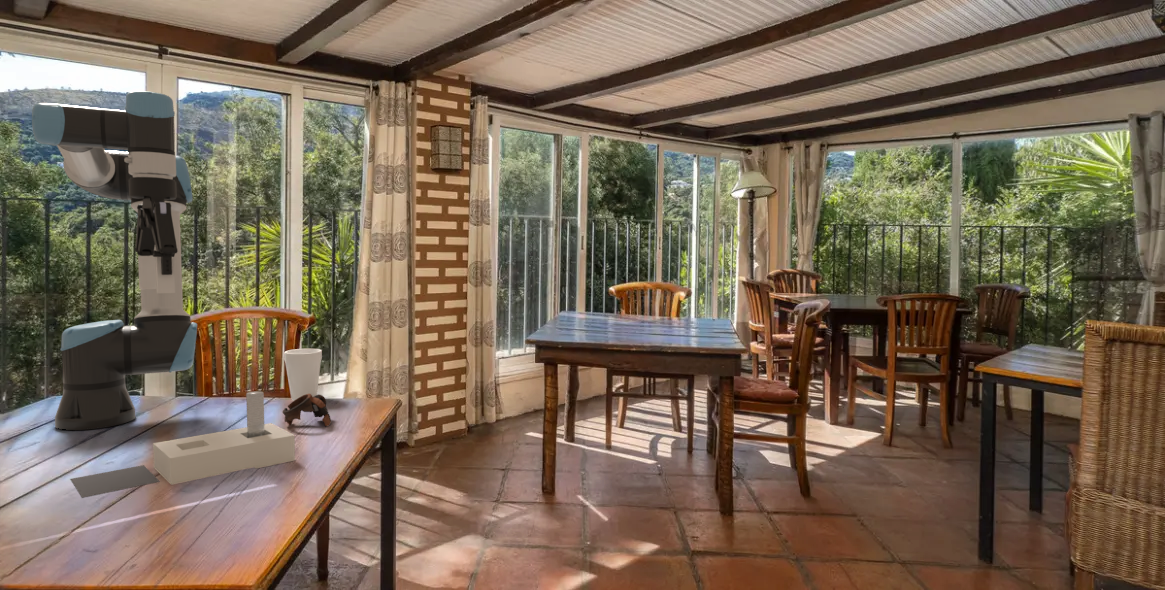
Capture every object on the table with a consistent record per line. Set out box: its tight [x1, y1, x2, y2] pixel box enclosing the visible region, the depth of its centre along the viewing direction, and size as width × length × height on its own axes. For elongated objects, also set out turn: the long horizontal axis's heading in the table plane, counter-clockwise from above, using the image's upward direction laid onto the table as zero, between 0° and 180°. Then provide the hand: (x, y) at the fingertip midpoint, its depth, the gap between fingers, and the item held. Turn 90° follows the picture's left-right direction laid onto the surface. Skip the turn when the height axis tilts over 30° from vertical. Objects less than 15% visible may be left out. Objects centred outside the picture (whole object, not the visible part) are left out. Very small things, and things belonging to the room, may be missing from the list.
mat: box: [69, 464, 161, 499], centre depth 117 cm, size 12×11×1 cm
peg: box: [245, 390, 265, 438], centre depth 130 cm, size 3×3×13 cm
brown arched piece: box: [282, 394, 332, 427], centre depth 157 cm, size 12×10×8 cm
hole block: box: [152, 422, 296, 486], centre depth 127 cm, size 12×21×5 cm, turn 135°
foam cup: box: [283, 348, 323, 402], centre depth 181 cm, size 10×9×13 cm
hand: (156, 291), depth 127 cm, fingers open, 13 cm apart
